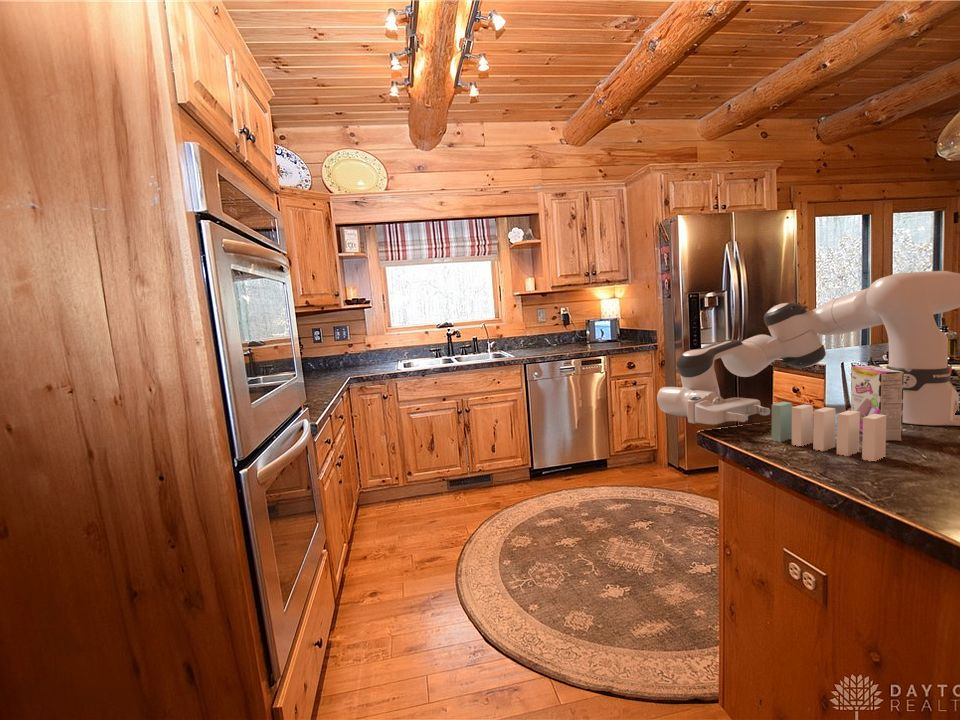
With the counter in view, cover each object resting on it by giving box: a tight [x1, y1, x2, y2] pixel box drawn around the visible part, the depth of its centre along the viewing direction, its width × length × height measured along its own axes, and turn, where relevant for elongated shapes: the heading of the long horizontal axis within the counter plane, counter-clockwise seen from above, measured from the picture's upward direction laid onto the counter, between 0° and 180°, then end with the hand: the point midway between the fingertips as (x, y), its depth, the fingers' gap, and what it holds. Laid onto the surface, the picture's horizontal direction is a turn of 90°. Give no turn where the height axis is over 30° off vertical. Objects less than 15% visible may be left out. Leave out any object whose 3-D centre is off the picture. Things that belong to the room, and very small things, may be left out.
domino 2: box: [791, 404, 814, 447], centre depth 104 cm, size 5×2×9 cm, turn 118°
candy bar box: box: [850, 365, 904, 442], centre depth 106 cm, size 11×5×16 cm, turn 168°
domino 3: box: [812, 406, 837, 452], centre depth 100 cm, size 5×2×9 cm, turn 118°
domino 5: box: [861, 414, 887, 462], centre depth 92 cm, size 5×2×9 cm, turn 118°
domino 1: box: [771, 401, 793, 443], centre depth 108 cm, size 5×2×9 cm, turn 118°
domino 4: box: [836, 409, 860, 457], centre depth 96 cm, size 5×2×9 cm, turn 118°
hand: (757, 415), depth 113 cm, fingers open, 8 cm apart
